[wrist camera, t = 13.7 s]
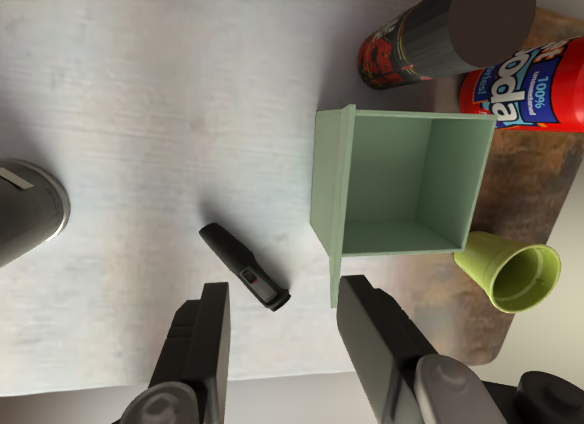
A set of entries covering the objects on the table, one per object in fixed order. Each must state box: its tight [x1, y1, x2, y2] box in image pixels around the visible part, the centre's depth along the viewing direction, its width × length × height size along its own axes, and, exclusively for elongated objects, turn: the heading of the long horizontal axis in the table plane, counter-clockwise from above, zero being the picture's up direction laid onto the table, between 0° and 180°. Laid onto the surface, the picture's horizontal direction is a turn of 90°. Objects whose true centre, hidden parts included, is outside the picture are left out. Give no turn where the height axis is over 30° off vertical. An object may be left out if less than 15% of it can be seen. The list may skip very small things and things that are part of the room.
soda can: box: [459, 35, 584, 133], centre depth 27 cm, size 8×8×15 cm
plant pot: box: [454, 231, 561, 313], centre depth 37 cm, size 9×9×9 cm
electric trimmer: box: [199, 222, 291, 312], centre depth 35 cm, size 4×16×3 cm, turn 36°
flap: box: [329, 104, 356, 309], centre depth 21 cm, size 7×14×1 cm
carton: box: [310, 109, 498, 257], centre depth 31 cm, size 15×14×9 cm
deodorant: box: [357, 0, 536, 90], centre depth 24 cm, size 6×6×15 cm
